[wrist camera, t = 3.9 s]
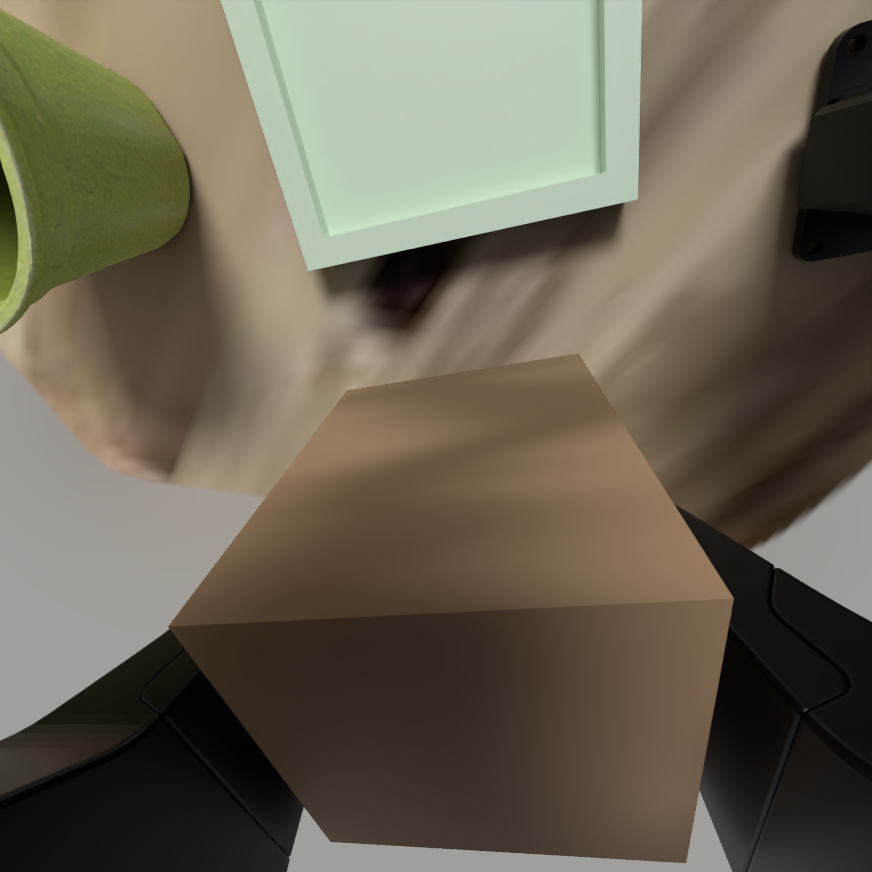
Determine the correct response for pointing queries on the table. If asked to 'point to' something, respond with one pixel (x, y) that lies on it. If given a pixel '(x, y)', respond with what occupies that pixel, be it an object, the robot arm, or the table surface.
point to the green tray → (440, 114)
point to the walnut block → (473, 623)
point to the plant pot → (76, 169)
